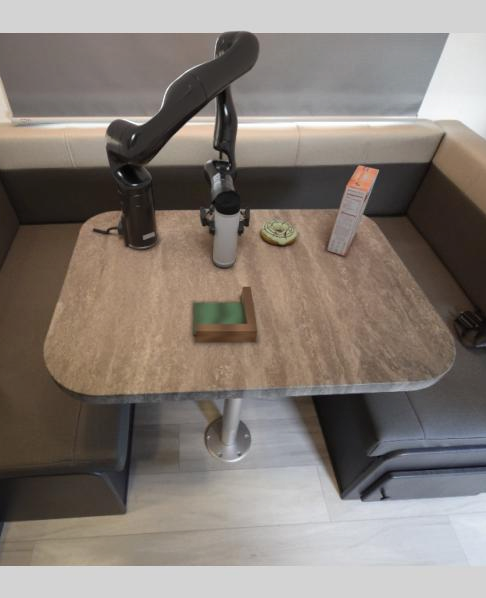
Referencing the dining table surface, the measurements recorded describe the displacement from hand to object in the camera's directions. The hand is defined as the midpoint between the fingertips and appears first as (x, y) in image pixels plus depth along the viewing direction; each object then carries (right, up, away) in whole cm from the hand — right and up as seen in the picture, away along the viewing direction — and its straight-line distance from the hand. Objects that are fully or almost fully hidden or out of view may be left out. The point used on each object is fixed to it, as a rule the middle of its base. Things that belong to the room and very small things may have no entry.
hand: (226, 232), depth 89 cm
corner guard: (-1, -21, -5) cm, 22 cm away
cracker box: (+36, +1, +18) cm, 40 cm away
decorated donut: (+17, +2, +19) cm, 25 cm away
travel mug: (0, -6, +10) cm, 11 cm away
